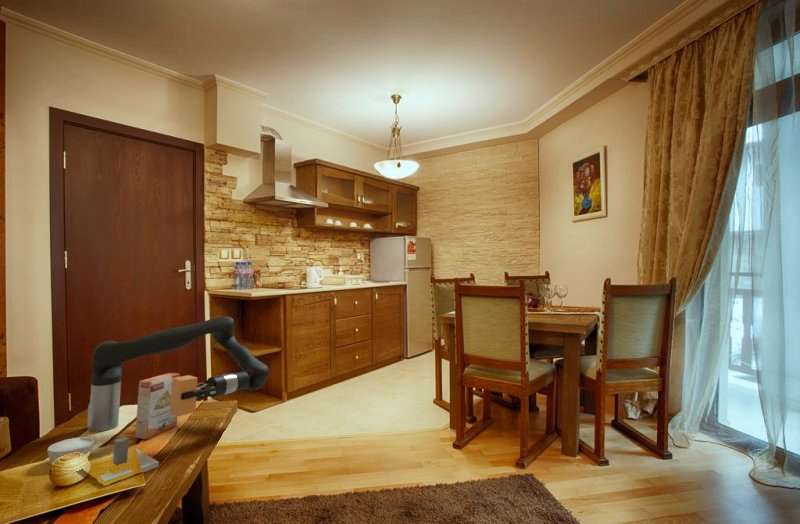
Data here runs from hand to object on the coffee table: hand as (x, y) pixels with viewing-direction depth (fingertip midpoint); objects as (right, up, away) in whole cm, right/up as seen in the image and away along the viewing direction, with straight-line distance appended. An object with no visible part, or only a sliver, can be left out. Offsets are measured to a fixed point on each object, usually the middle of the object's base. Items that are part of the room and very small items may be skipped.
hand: (176, 394), depth 129 cm
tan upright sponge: (+1, -7, +2) cm, 7 cm away
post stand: (-9, -17, -14) cm, 24 cm away
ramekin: (-28, -18, -11) cm, 35 cm away
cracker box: (-15, -19, +13) cm, 27 cm away
